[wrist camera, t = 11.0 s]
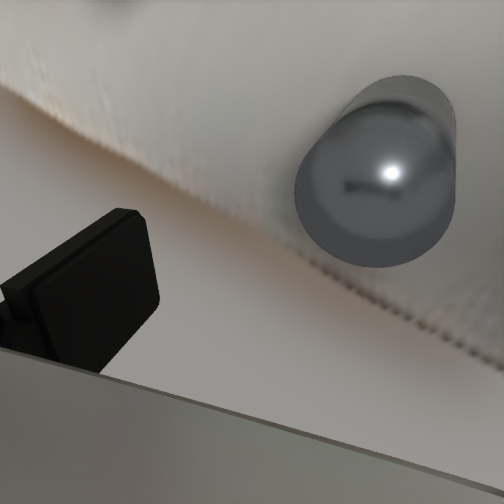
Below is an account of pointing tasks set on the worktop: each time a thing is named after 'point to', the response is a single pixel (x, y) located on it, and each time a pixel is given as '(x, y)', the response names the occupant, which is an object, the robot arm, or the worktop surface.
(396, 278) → the worktop surface
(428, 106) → the metal cylinder
